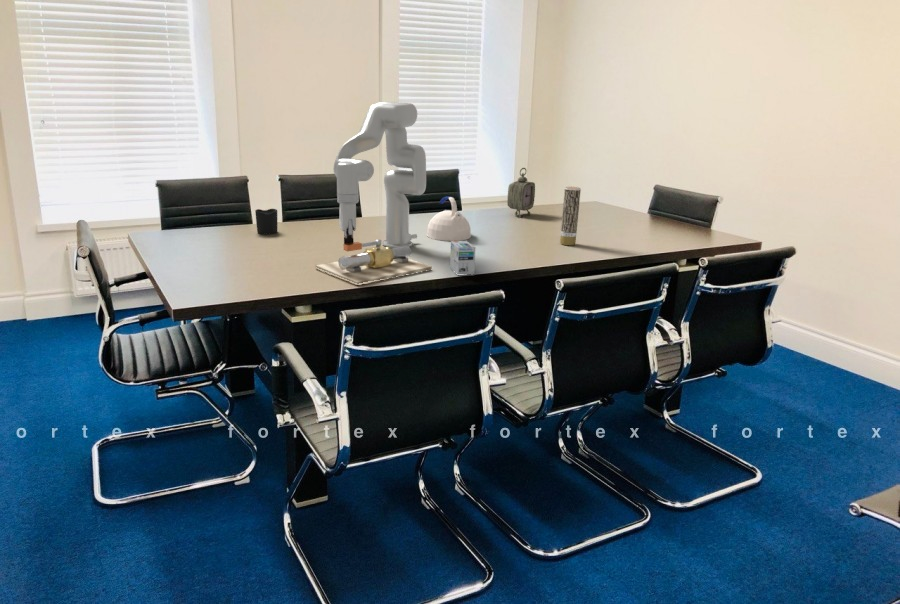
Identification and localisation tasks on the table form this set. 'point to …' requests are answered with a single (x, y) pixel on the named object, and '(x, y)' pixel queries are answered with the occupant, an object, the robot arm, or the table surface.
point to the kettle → (449, 224)
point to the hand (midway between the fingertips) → (348, 248)
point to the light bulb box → (462, 257)
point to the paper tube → (570, 215)
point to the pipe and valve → (375, 258)
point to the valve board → (375, 271)
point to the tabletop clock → (521, 194)
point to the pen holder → (266, 221)
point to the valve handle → (360, 245)
